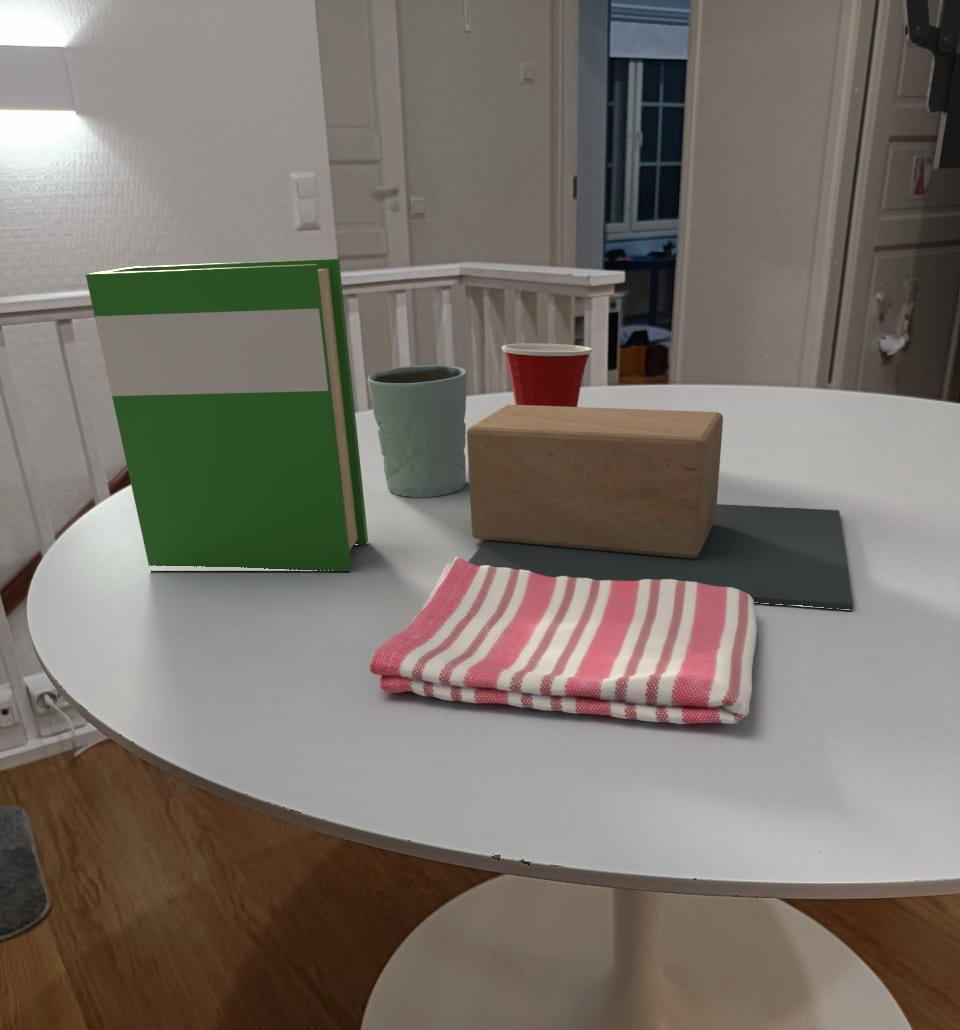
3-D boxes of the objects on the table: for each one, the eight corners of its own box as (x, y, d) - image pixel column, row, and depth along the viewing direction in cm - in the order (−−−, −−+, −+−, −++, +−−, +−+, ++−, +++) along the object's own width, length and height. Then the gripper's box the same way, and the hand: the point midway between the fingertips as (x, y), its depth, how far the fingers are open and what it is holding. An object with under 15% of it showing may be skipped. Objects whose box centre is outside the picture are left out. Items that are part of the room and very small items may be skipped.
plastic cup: (609, 442, 113) (612, 341, 107) (548, 460, 106) (548, 353, 101) (547, 429, 120) (546, 334, 115) (486, 445, 114) (482, 346, 108)
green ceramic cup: (489, 480, 100) (485, 367, 94) (434, 505, 92) (426, 385, 87) (416, 469, 105) (408, 362, 100) (358, 492, 98) (346, 378, 92)
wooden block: (716, 522, 82) (508, 506, 89) (724, 411, 78) (504, 403, 85) (697, 561, 74) (470, 540, 81) (706, 438, 69) (464, 427, 76)
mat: (838, 516, 84) (839, 509, 84) (852, 611, 65) (853, 604, 65) (525, 500, 93) (525, 494, 92) (457, 580, 74) (457, 574, 74)
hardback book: (368, 541, 83) (339, 258, 73) (348, 572, 77) (313, 265, 66) (184, 542, 85) (130, 267, 75) (150, 571, 79) (85, 274, 68)
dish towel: (447, 594, 71) (445, 552, 70) (756, 615, 65) (760, 570, 64) (366, 700, 57) (360, 650, 55) (754, 740, 51) (760, 685, 49)
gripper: (1136, -295, 53) (1042, 164, 63) (892, -254, 56) (842, 173, 67) (1184, -361, 46) (1071, 162, 57) (905, -310, 50) (847, 172, 60)
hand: (947, 168), depth 62 cm, fingers closed
